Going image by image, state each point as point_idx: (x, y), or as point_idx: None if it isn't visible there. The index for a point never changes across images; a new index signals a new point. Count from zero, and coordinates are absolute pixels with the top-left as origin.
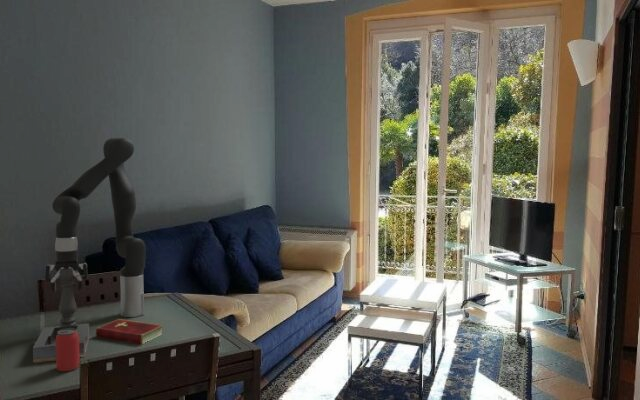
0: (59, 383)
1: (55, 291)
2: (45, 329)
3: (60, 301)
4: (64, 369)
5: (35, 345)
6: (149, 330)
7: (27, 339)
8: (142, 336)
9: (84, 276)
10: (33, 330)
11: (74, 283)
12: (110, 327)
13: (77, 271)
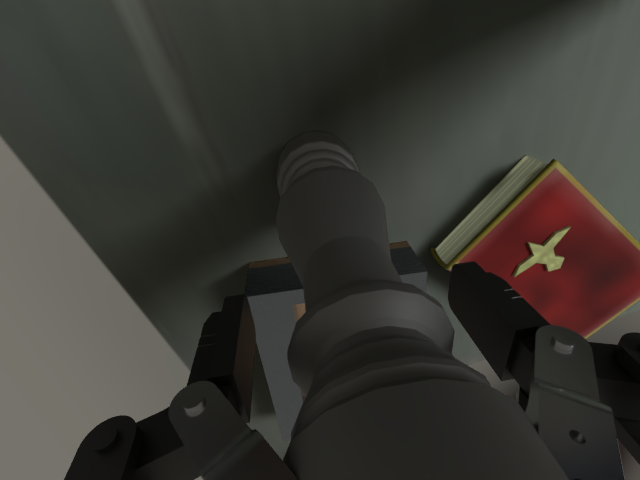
0: None
1: (251, 318)
2: (261, 319)
3: (292, 264)
4: None
5: (284, 430)
6: (608, 315)
7: (171, 236)
8: None
9: (619, 428)
10: (128, 109)
11: (449, 352)
12: (497, 271)
13: (614, 451)
